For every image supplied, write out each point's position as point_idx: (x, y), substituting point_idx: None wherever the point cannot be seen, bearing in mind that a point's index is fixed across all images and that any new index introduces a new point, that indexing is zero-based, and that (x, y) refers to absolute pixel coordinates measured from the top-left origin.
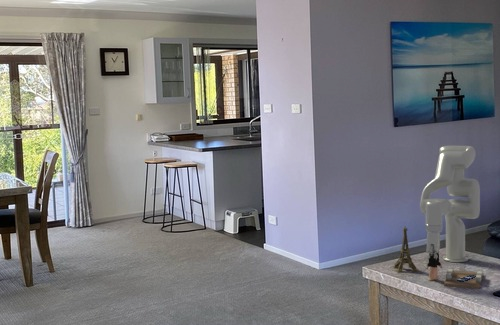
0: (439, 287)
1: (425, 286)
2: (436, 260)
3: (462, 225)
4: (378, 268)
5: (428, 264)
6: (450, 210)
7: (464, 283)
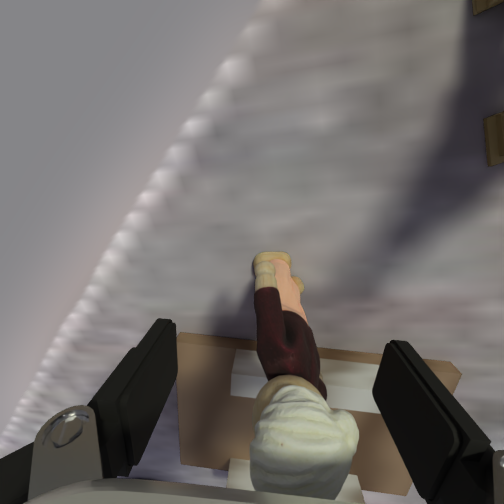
0: (145, 311)
1: (133, 240)
2: (381, 389)
3: None
4: None
5: (256, 307)
6: None
7: (202, 421)
